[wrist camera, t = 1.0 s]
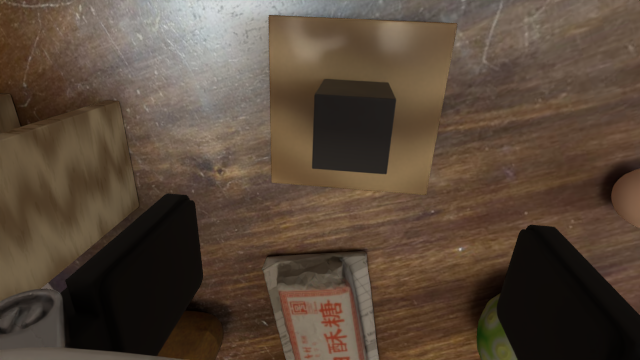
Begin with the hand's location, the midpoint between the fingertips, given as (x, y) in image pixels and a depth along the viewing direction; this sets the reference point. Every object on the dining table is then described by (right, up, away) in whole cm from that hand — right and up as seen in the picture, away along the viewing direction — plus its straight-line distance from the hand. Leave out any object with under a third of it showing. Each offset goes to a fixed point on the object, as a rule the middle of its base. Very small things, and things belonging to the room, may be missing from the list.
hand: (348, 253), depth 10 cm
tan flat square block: (+2, +8, +17) cm, 19 cm away
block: (+2, +7, +15) cm, 16 cm away
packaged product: (0, -13, +27) cm, 30 cm away
